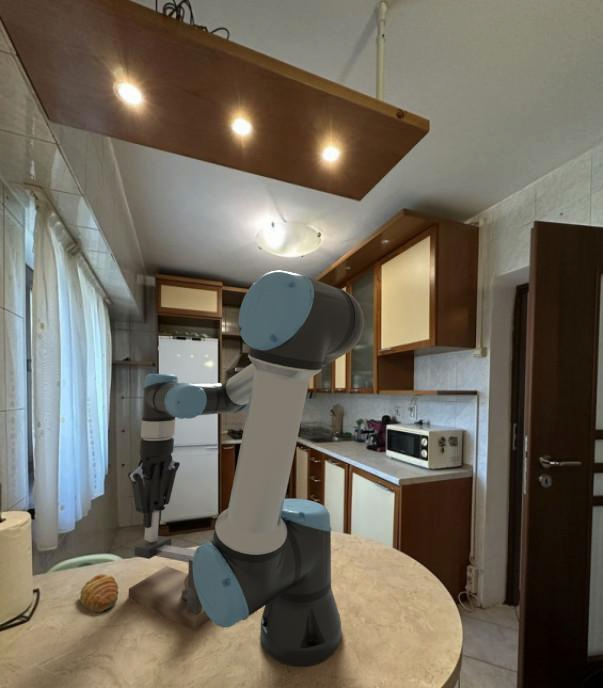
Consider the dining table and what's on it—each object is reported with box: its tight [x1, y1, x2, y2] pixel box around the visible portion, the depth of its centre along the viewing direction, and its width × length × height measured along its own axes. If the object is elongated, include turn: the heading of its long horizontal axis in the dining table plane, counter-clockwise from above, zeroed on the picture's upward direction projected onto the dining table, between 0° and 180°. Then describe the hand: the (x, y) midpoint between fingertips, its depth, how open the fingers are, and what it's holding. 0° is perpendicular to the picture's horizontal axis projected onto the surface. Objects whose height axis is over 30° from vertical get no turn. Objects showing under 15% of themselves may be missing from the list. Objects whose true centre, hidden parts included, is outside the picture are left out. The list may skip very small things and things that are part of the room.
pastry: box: [79, 573, 119, 613], centre depth 71 cm, size 9×7×4 cm
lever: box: [134, 535, 196, 564], centre depth 72 cm, size 21×6×3 cm, turn 63°
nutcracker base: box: [127, 557, 210, 631], centre depth 72 cm, size 20×10×12 cm, turn 62°
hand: (150, 539), depth 77 cm, fingers closed
